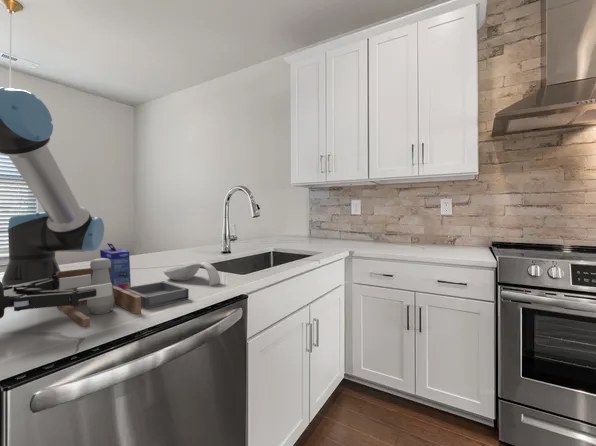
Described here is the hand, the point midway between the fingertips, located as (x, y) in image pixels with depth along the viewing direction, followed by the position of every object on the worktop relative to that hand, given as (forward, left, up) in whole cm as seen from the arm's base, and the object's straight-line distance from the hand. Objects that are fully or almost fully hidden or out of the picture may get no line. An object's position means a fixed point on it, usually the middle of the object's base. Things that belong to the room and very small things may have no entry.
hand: (100, 284), depth 75 cm
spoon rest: (-14, +34, -7) cm, 38 cm away
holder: (-2, 0, -7) cm, 7 cm away
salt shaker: (0, 0, -7) cm, 7 cm away
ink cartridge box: (-21, +11, -7) cm, 25 cm away
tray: (-1, +14, -7) cm, 16 cm away
